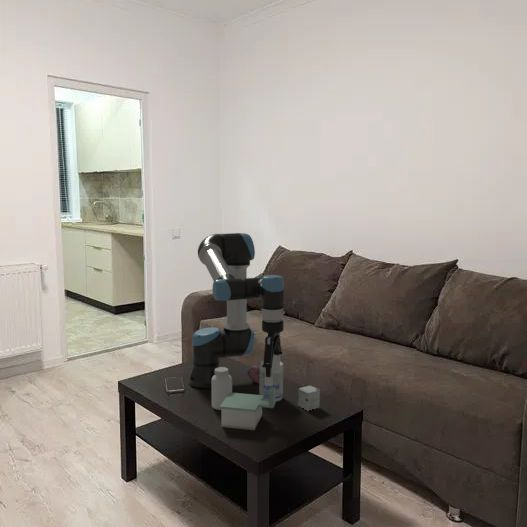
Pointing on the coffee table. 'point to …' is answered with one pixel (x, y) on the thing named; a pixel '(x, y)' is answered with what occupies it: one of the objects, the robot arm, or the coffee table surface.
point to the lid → (248, 401)
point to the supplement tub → (276, 383)
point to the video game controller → (254, 373)
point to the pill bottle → (220, 386)
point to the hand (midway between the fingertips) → (272, 378)
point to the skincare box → (309, 398)
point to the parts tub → (240, 418)
